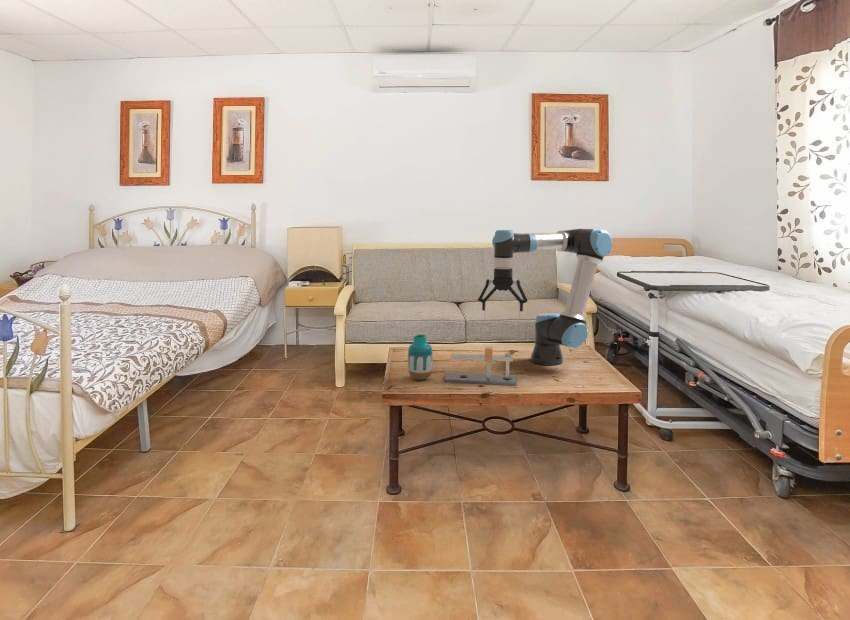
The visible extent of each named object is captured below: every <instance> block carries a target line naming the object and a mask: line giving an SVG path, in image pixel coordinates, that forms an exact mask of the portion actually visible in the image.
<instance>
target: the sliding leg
mask: <svg viewBox="0 0 850 620" xmlns="http://www.w3.org/2000/svg"><path fill="white" fill-rule="evenodd" d="M484 355H485V360H484V362H486V374H487V377H490V374H491V363H492V362H493V361H492V355H494V354H493V346H485V347H484Z"/></svg>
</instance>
